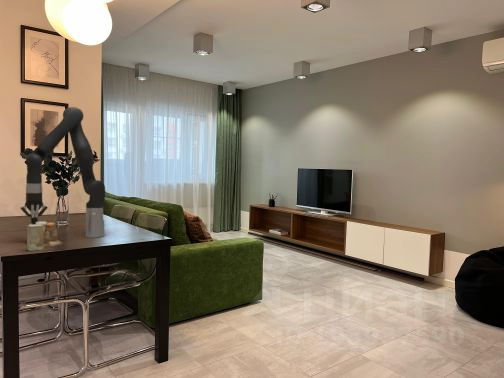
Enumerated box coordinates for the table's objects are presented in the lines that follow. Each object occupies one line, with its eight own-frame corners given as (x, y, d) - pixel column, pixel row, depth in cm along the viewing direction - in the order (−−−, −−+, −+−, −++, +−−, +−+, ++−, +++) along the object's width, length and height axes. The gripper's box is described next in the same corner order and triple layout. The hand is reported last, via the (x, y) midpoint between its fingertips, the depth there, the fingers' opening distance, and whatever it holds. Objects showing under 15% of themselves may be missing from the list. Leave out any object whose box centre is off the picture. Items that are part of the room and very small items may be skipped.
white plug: (45, 234, 196) (45, 221, 195) (47, 236, 192) (47, 222, 192) (34, 235, 192) (34, 221, 192) (37, 237, 189) (37, 223, 188)
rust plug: (53, 235, 202) (52, 222, 202) (55, 236, 199) (55, 223, 198) (43, 236, 199) (43, 222, 199) (45, 237, 196) (45, 224, 195)
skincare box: (29, 251, 179) (29, 226, 179) (26, 249, 182) (26, 225, 182) (44, 249, 184) (44, 225, 183) (40, 247, 187) (40, 223, 186)
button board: (52, 239, 208) (52, 226, 208) (62, 244, 196) (62, 231, 195) (26, 241, 199) (26, 228, 199) (34, 247, 187) (34, 234, 186)
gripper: (46, 191, 204) (45, 222, 205) (18, 191, 195) (18, 224, 196) (50, 192, 199) (49, 224, 200) (21, 192, 190) (21, 226, 191)
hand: (34, 224), depth 198 cm, fingers closed
